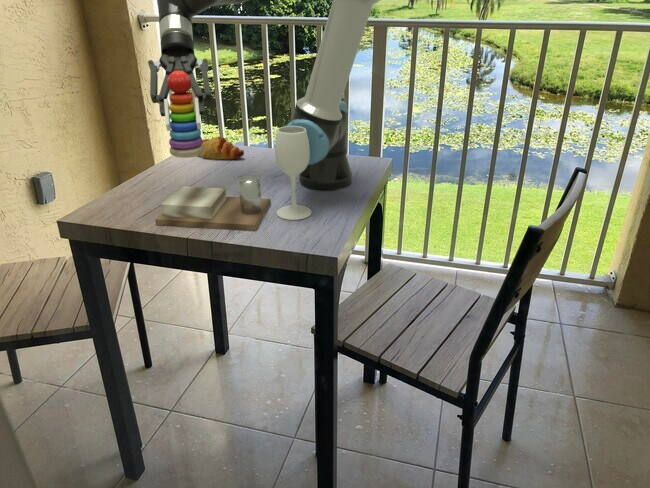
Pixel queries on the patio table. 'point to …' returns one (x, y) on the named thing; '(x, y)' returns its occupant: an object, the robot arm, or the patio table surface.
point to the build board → (221, 217)
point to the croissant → (220, 149)
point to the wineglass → (292, 165)
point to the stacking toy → (183, 118)
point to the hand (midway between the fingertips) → (183, 126)
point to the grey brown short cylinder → (250, 195)
